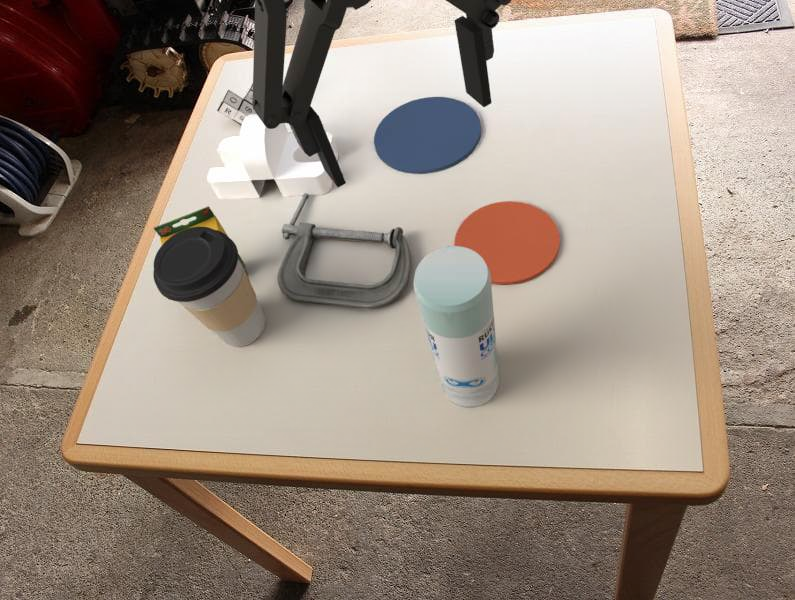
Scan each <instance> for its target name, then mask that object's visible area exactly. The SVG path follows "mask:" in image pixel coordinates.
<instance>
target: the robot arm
mask: <svg viewBox="0 0 795 600" xmlns="http://www.w3.org/2000/svg"><path fill="white" fill-rule="evenodd" d="M289 1H290V0H254V30H253V31H254V32H253V33H254V34H253V36H254V37H253V65H252V66H253V67H252V68H253V69H252V70H253V71H252V83H253V101H252V106H253V109H254V110H255V112H256V114H257V115H258V116H259V118H260V119H261V121H262V122H263V123H264V125H265V126H266V127H267V128H268V129H274V128H276V127H278V125H279V124H281V123H285V124H288V125H289V128H290V129H291V132H293V134H294V136H295V138H296V140H297V143H298V144H299V146H300V147H301V148H302V150H303V151H304V153H305V154H307V155H308V156H309V157H311V156H312V155H314V154H316V153H317V154H318V156H319V158H320V161H321V163H322V165H323V168H324V170H325V171H326V173H327V174H328V175H329V177H330V178H331V179H332V181H333V184H334V185H335V186H336V187H337V189H338V188H340V187H342V186H344V185H346V184H347V182H346V179H345V176H344V174H343V172H342V170H341V167H340V164H339V162H338V161H337V159H336V157H335V154H334V152H333V149H332V147H331V144H330V142H329V140H328V137H327V135H326V132H325V131H326V130H325V128H324V124H323V121H322V120H321V117H320V115H319V114H318V113H317V112H316V111H315V110H314V108H313V107H312V106H311V105H312V102H313V99H314V96H315V93H316V90H317V87H318V84H319V81H320V78H321V75H322V72H323V69H324V66H325V63H326V60H327V57H328V54H329V51H330V47H331V44H332V41H333V40H334V39H333V38H334V36H335V34H336V33H335V32H336V31H337V30H339V29H340V28H341V26H342V24H343V22H344V19H345V18H344V17H345V15H346V13H347V9H354V11H357V10H359V9H360V8H362V7H363V8H364V7H365V6H366V5H367V4H369V3H370V2H371V1H372V0H304V2H303V8H304V14H303V17H302V20H301V24H300V26H299V30H298V34H297V37H296V41H295V44H294V46H293V51H292V53H291V57H290V60H289V63H288V67H287V70H286V74H285V76H284V72H285V56H286V41H287V40H286V39H287V20H288V19H287V17H288V16H287V8H286V3H288V2H289ZM445 2H447V3H449V4H450V5H452V6H454V7H455V8H456V9H458V10H460V11H461V12H463V13H464V14H465V16H464V15H461V16H459V17H458V18H455V19H454V26H455V33H456V39H457V46H458V51H459V57H460V64H461V69H462V76H463V82H464V87H465V93H466V94H467V95H469V97H470V98H472V99H473V100H474V101H475V102H476V103H478V104H479V105H480V106H481V107H483V108H486V107H488V106H489V105H491V104H492V96H491V94H492V93H491V87H490V80H489V79H490V77H489V72H488V63H487V62H488V61H490V60H492V59H493V58H494V54H495V46H494V37H493V29H494V28H496V27H497V25H498V24H499V22H500V14H499V13H498V11H497V10H498V9H499V8H500V7H501V6H507V5H509V4H510V3H511V2H512V0H445Z"/></svg>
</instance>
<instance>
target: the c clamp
mask: <svg viewBox="0 0 795 600" xmlns="http://www.w3.org/2000/svg"><path fill="white" fill-rule="evenodd" d="M309 197H310V195H308V194H307V193H304V194H303V196H302V197H301V200H300V202H299V204H298V205H297V208H296V210H295V212H294V214H293V215H292V218H291V220H290V222H289V224H286V223H284V224H283V225H282V226H281V233H282V237H283V239H285V240H290V238H291V236H296V237H295V238H294V239H293V241H292V242H291V244H290V246H288V249H287V251H286V252H285V254H284V256H283V258H282V261H281V264H280V266H279V269H278V271H277V284H278V286H279V289H280V291H281V292H282V293H283V294H284V295H285V296H286V297H287V298H289V299H292V300H294V301H297V302H304V303H311V304H312V303H313V304H321V305H332V306H339V307H340V306H342V307H349V308H350V307H351V308H359V309H377V308H378V309H379V308H381V307H384V306H387V305H389V304H391V303H392V302H393V301H395V300H396V299H397V298H398V297H399V296H400V295H402V293H403V292H404V290H405V288H406V286H407V283H408V281H409V278H410V273H411V263H412V258H411V251H410V247H409V244H408V241H407V239H406V237H405V235H404V230H403V228H402V227H400V226H397V227H396V228H392V229H390V230H389V232H386V233H384V232H378V231H366V230H356V229H354V230H353V229H342V228H341V229H340V228H331V227H330V228H329V227H318V226H316V224H315V223H308V222H300V223H298V225H296V224H297V223H296V222H297V221H298V218H299V217H300V214H301V213H302V210H303V208H304V206H305V204H306V202H307V200H308V199H309ZM316 238H320V239H321V238H322V239H331V240H342V241H343V240H346V241H353V242H368V243H378V244H379V243H380V244H382V243H385V244H386V245H388V247H389V248H390V249H393V250H394V249H395V255H394V259H393V263H392V266H391V270H390V272H389V274H387V276H386V277H385V278H384V279H382V280H380V281H379V282H376V283H372V284H363V283H354V282H353V283H352V282H344V281H343V282H342V281H332V280H331V281H330V280H320V279H310V278H307V276H306V275H305V273H304V269H305V266H306V263H307V261H308V258H309V255H310V252H311V250H312V243H313V242H312V241H313V240H315V239H316Z"/></svg>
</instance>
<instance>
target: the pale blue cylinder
mask: <svg viewBox="0 0 795 600" xmlns="http://www.w3.org/2000/svg"><path fill="white" fill-rule="evenodd" d="M413 290H414V293H415V297H416V300H417V303H418V307H419V311H420V315H421V318H422V321H423V323H424V324H423V325H424V328H425V332H426V336H427V338H428V342H429V346H430V349H431V352H432V357H433V359H434V362H435V366H436V370H437V373H438V377H439V380H440V383H441V384H440V385H441V387H442V391H443V392H444V394H445V395H446V397H447V398H448V399H449V401H451V402H452V403H454V404H456V405H457V406H460V407H464V408H476V407H480V406H483V405H485V404H487V403H488V402H489V401H490V400H492V398H493V397H494V396H495V394H496V393H497V390H498V387H499V383H500V374H499V363H498V352H497V349H498V348H497V339H496V337H497V336H496V328H495V327H496V325H495V314H494V313H495V311H494V301H493V289H492V283H491V276H490V271H489V268H488V266H487V265H486V263H485V261H484V260H483V258H482V257H481V256H480V255H479V254H478V253H476V252H475V251H473V250H471V249H468V248H465V247H460V246H455V245H449V246H443V247H439V248H437V249H434V250H433V251H431V252H429V253H428V254H426V255H425V256H424V257H423V258H422V259H421V260H420V262H419V263H418V265H417V266H416V268H415V271H414V277H413Z"/></svg>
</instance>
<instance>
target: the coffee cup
mask: <svg viewBox="0 0 795 600" xmlns="http://www.w3.org/2000/svg"><path fill="white" fill-rule="evenodd" d="M226 234H227V233H226ZM226 234H224V233H223V232H220V231H218V230H214V229H212V228H209V227H192V228H188V229H185V230H182V231H180V232H178V233H176V234H175V235H173V236H172V237H170V238H169V239H168V240H167V241H166V242H165V243H164V244H163V245H162V244H161V246H160V247H159V248H158V250H157V251H156V254H155V256H154V259H153V274H152V275H153V281H154V284H155V286H156V288H157V290H158V292H159V293H160V294H161V296H163V297H165V299H168V300H169V301H173V302H176V303H177V302H178V303H179V304H180V306H182V307H183V308H184V309H185V310H186V311H188V312H189V313H190V314H191V315H192V316H193V317H194V318H195V319H196V320H197V321H199V322H200V323H201V324H202V325H203V326H205V327H206V328H207V329H209V330H211V331H212V332H213V333H214V334H215V335H216V336H217V337H219V338H220V339H221V340H222V341H223V342H225V343H226V344H227V345H229V346H231V347H235V348H244V347H246V346H249V345H251V344H252V343H254V342H255V341H256V340H257V339H259V337H260V336H261V335H262V333H263V332H264V330H265V327H266V322H267V321H266V317H265V314H264V312H263V310H262V307H261V306H260V304H259V300H258V299H257V294H256V291H255V289H254V287H253V285H252V283H251V280H250V278H249V275H248V276H247V274H248V273H247V274H246V272H245V270H244V268H243V266H242V264H241V262H240V261H239V260H238V254H239V250H238V247H237V245H236V243H235V242H234V240H233V239H232V238H230V237H229V236H227V235H228V234H227V235H226Z"/></svg>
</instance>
